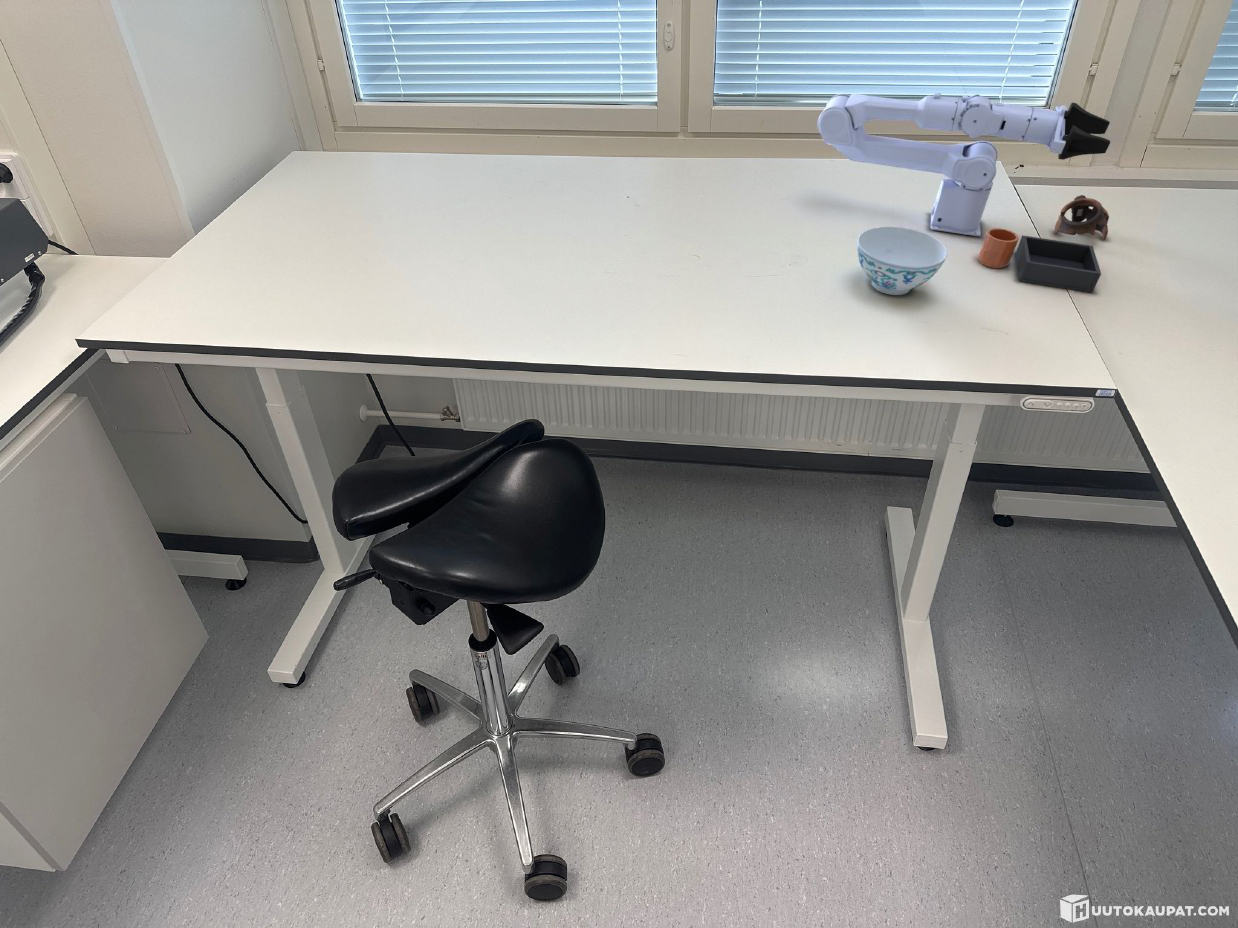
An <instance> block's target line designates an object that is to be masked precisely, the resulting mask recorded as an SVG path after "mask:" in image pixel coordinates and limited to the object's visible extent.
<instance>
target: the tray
mask: <svg viewBox="0 0 1238 928" xmlns="http://www.w3.org/2000/svg"><path fill="white" fill-rule="evenodd" d="M1018 242H1019V243H1018V246H1017V247H1016V250H1015V253H1014V255H1015V262H1016V263H1015V264H1016V268H1017V275H1018V282H1021V283H1028V284H1034V285H1039V286H1046V287H1047V286H1048V287H1053V288H1059V289H1065V290H1072V291H1076V292H1077V291H1078V292H1085V293H1090V294H1093V293H1094V291H1095V288H1096V286H1097V284H1098V282H1099V280H1100V277H1101V276H1102V272H1101V268H1100V264H1099V262H1098V258H1097V256H1096V252H1095V249H1094V246H1093V245H1090V244H1085V243H1084V244H1083V243H1076V242H1071V241H1070V242H1069V241H1063V240H1056V239H1050V238H1042V237H1036V236H1029V235H1021V238H1020V240H1019V241H1018Z"/></svg>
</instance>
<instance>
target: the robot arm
mask: <svg viewBox="0 0 1238 928" xmlns="http://www.w3.org/2000/svg"><path fill="white" fill-rule="evenodd" d="M872 120H879V121H909V122H914V123H916V125H917V126H918V127H919V128H920V129H923V130H925V129H926V130H936V131H948V132H949V131H950V132H951V131H952V132H956V131H957V132H958V131H961V132H962V133H964V135H966V136H968V137H969V138H970V139H975V138H976V139H977V138H979V137H982V136H983V135H986V136H993V137H995V138H1001V139H1008V140H1015V141H1019V142H1024V143H1025V142H1026V143H1032V144H1037V145H1044V146H1046V147H1047V148H1048V149H1049V153H1053V154H1057V155H1058V156H1057V157H1058V158H1057V159H1058V160H1063V161H1065V160H1067V159H1070V158H1073V157H1074V158H1075V157H1078V156H1084V155H1085V156H1086V155H1100V154H1106V153H1107V152H1108V151H1107V150H1108V149H1109V147H1110V144H1111V140H1110V139H1107V138H1106V137H1102V136H1098V135H1105V134H1106V132H1107V130H1108V127H1109V126H1110V123H1111V122H1110V121H1109V120H1108V119H1106V118H1103V117H1100V116H1098V115H1095V114H1093V113H1091V112H1090V111H1087V110H1086V109H1085V108H1083V107H1082V106H1080V105H1079V104H1078V103H1076V102H1071V103H1070V105H1069V107H1067V105H1065V104H1064V105H1063V104H1062V105H1061V106H1058V105H1056V106H1055V108H1054V110H1051V109H1045V108H1039V107H1033V106H1026V105H1019V104H1013V103H1003V102H996V101H991V100H990V98H988V97H986V96H984V95H980V94H978V93H977V94H973V95H971V96H969V95H962V97H954V96H942V93H941V92H936V91H935V92H934V93H933V95H926V96H924V97H923V98H922V99H920V100H918V101H913V100H908V99H907V100H905V99H899V98H889V97H883V96H874V95H867V94H863V93H862V94H861V93H851V94H847V93H837V94H835V95H833V96H832V97H830V99H829V100H828V101H827V102H826V104H825V108H824V109H823V110H822V111H821V113H820V114H819V117H818V119H817V123H816V124H817V130H818V132H819V134H820V137H821V138H822V140H823V142H824V144H826V145H829V146H831V147H832V148H834V149H835V150H836V151H838V152H839V153H840V154H841V155H843V156H844V157H845V158H847V159H848V160H849V161H852V162H857V163H864V164H870V165H877V166H885V167H892V168H898V169H899V168H900V169H906V170H912V171H918V172H919V171H920V172H925V173H926V172H927V173H933V174H940V175H943V176H944V177H946V178H943V179H941V182H940V185H939V187H938V191H937V194H936V198H935V199H934V203H933V206H932V208H931V212H930V229H931V230H932V231H938V232H946V233H952V234H959V235H965V236H971V237H981V235H982V233H981V232H982V231H981V220H982V218H983V215H984V211H985V208H986V206H987V203H988V200H989V197H990V194H991V191H992V188H993V185H994V179H995V178H996V175H997V161H998V149H997V148H996V146H995V145H994V144H993V143H992V142H991V141H988V140H977V141H974V142H969V143H965V142H959V143H955V144H950V145H949V144H941V143H933V142H926V141H919V140H911V139H904V138H896V137H889V136H881V135H873V134H868V133H867V131H866V128H865V126H864V124H866V123H868V122H870V121H872Z"/></svg>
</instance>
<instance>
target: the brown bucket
mask: <svg viewBox="0 0 1238 928" xmlns="http://www.w3.org/2000/svg"><path fill="white" fill-rule="evenodd" d="M985 233H986V234H985V236H984V239H983V241H982V245H981V247H980V250H979V253H978V255H977V256H978V258H977V259H978V261H979V263H980V264H981V265H983V266H985V267H988V268H990V269H1004V268H1006V267H1007V266H1008V265H1009V264H1010V263H1011V260H1012V258H1013V254H1014V252H1015V251H1016V250H1015V249H1016V248H1017V244H1018V242H1019V239H1020V238H1019V235H1018V234H1017V233H1016V232H1014V231H1012V230H1009V229H1006V228H1002V227H1001V228H999V227H996V228H995V227H994V228H990V229H988V230H986V232H985Z"/></svg>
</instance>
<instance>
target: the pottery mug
mask: <svg viewBox="0 0 1238 928" xmlns="http://www.w3.org/2000/svg"><path fill="white" fill-rule="evenodd" d="M1069 210H1070V212H1071V220H1070V219H1068V218H1067V217H1066V216H1065V215H1066V213H1067V212H1068V211H1069ZM1109 219H1110V214H1109V212H1108V211H1107V209H1106V208H1104V206H1103V204H1101V202H1100V201H1099V200H1097V199H1095V198H1090V197H1086V196H1085V195H1083V194H1081V195H1077V196H1076V197H1074V199H1073V200H1071V201H1070V202H1068V203H1067V204H1065V205H1064V206H1063V207H1062V208H1061V210H1060V214H1059V216H1058V219H1057V220H1056V222H1055V224H1054V234H1055V235H1058V234H1059V233H1060V234H1064V235H1070V236H1076V235H1078V236H1081V235H1084V234H1085V235H1086V234H1090V235H1093V236H1094V235H1095V234H1096V231H1097V232H1099V233H1101V235H1102V240H1103V241H1106V239H1107V237H1108V234H1109V226H1108V223H1109ZM1095 236H1096V235H1095Z"/></svg>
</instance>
